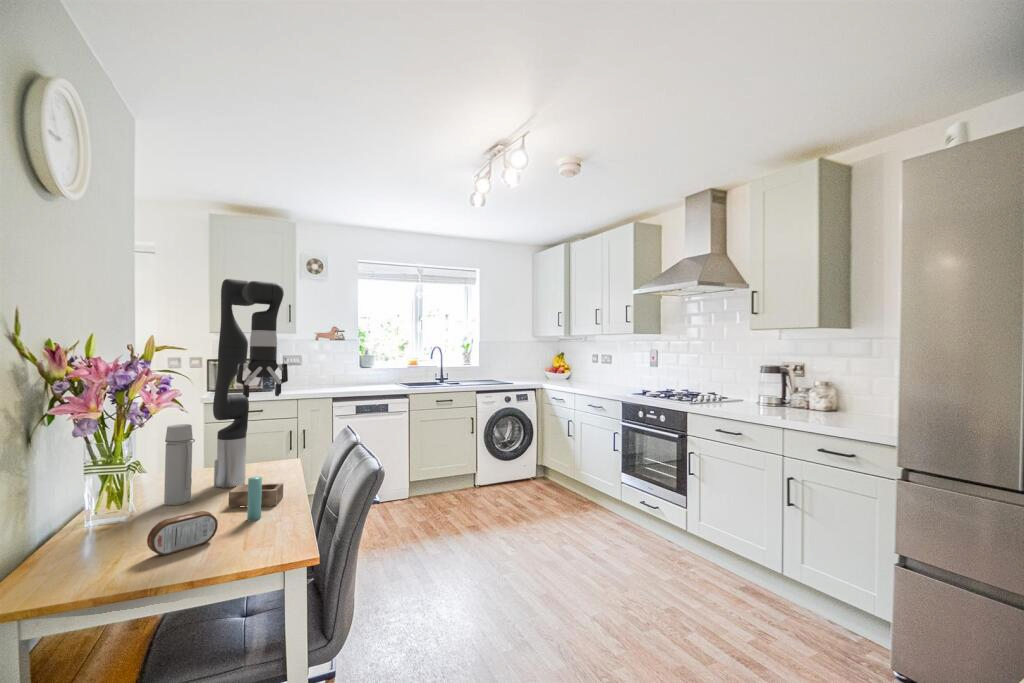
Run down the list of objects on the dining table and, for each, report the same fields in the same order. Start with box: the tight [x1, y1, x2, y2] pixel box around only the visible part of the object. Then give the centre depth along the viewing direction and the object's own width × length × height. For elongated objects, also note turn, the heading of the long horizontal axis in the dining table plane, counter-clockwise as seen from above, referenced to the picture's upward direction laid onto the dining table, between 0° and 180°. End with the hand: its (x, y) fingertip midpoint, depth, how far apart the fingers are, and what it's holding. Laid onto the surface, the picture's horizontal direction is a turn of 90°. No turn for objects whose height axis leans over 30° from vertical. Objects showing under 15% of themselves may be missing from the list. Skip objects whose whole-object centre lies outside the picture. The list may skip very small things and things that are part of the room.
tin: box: [146, 510, 219, 556], centre depth 120 cm, size 15×3×8 cm, turn 145°
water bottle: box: [163, 423, 195, 506], centre depth 154 cm, size 9×8×25 cm
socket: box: [228, 482, 284, 508], centre depth 156 cm, size 14×8×5 cm, turn 101°
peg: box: [246, 476, 263, 521], centre depth 142 cm, size 4×4×12 cm
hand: (262, 396), depth 150 cm, fingers open, 8 cm apart
